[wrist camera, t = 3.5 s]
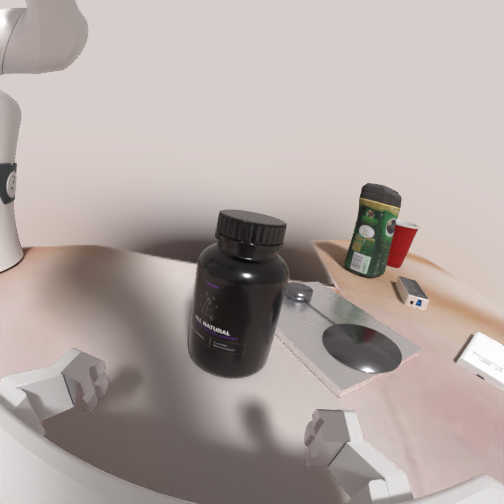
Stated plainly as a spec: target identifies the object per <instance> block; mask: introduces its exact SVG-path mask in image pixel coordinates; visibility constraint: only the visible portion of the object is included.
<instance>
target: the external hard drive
mask: <svg viewBox="0 0 504 504" xmlns="http://www.w3.org/2000/svg"><path fill="white" fill-rule="evenodd" d="M457 364H458V365H460V366H462V367H463V368H465V369H467V370H468V371H470V372H472V373H473V374H475V375H478V376H479V377H481V378H483V379H484V380H485V381H486V382H488V383H490V384H491V385H493V386H495V387H496V388H498V389H500V390H501V391H503V390H504V346H503V345H501V344H500V343H498V342H496V341H494V340H493V339H491V338H489V337H487V336H485V335H484V334H482V333H480V332H476V333H475V335H474V336H473V338H472V339H471V341H470V343H469V344H468V346H467V347H466V349H465V350H464V352H463V353H462V355H461V356H460V357H459V359H458V361H457Z"/></svg>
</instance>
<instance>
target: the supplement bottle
mask: <svg viewBox="0 0 504 504" xmlns="http://www.w3.org/2000/svg"><path fill="white" fill-rule="evenodd" d="M285 230H286V223H285V222H283V221H282V220H280V219H277V218H274V217H271V216H267V215H263V214H259V213H254V212H248V211H241V210H222V211H220V213H219V217H218V223H217V228H216V230H215V238H216V239H217V243H215V244H213V245H211V246H209V247H207V248H206V249H205V250H204V251H203V252H202V253H201V255H200V257H199V259H198V263H197V269H196V278H195V286H194V295H193V304H192V314H191V324H190V335H189V351H190V354H191V357H192V358H193V360H194V361H195V362H196V363H197V364H198V365H199V366H200V367H201V368H202V369H204V370H205V371H207V372H209V373H211V374H214V375H216V376H220V377H225V378H243V377H247V376H250V375H253V374H255V373H256V372H258V371H259V370H261V369H262V368H263V366H264V365H265V363H266V361H267V358H268V355H269V352H270V348H271V345H272V341H273V338H274V334H275V330H276V327H277V323H278V319H279V316H280V312H281V308H282V304H283V300H284V297H285V293H286V289H287V285H288V280H289V270H288V267H287V265H286V263H285V261H284V260H283V259H282V258H281V257H280V256H279V255H278V251H280V250H282V248H283V244H284V241H283V239H284V235H285Z"/></svg>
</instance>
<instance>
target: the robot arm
mask: <svg viewBox="0 0 504 504" xmlns="http://www.w3.org/2000/svg"><path fill="white" fill-rule="evenodd" d="M26 3H27V8H11V9H0V75H2V74H10V73H31V74H39V73H46V72H53V71H59V70H64V69H65V68H67V67H68V66H69V65H71V64H72V63H73V62H74V61H75V60H76V59H77V57H78V56H79V55H80V53H81V52H82V50H83V48H84V46H85V44H86V41H87V36H88V25H87V21H86V19H85V17H84V16H83V15H82V14H81V12H80V11H79V9H78V7H77V5H76V1H75V0H26ZM20 121H21V111H20V107H19V105H18V103H17V102H16V101H15V100H14V99H13V98H12V97H10V96H9V95H7V94H6V93H4V92H2V91H1V90H0V272H1V271H3V270H6V269H8V268H10V267H12V266H13V265H15V264H16V263H18V262H19V261H20V260H21V258H22V257H23V251H22V248H21V245H20V241H19V238H18V234H17V228H16V223H15V215H14V202H13V201H14V199H15V190H16V167H17V164H16V163H10V162H15V154H16V146H17V139H18V133H19V127H20ZM105 369H106V365H105V362H104V361H102V360H100V359H98V358H96V357H93V356H91V355H89V354H87V353H85V352H82V351H80V350H78V349H76V348H72V349H70V350H69V351H68V352H67V353H66V354H65V355H64V356H63V357H62V358H60V359H59V360H58V361H57V362H56V363H55V364H54V365H53V366H52V367H51V368H50V367H44V368H40V369H35V370H31V371H27V372H22V373H18V374H13V375H9V376H5V377H4V378H3V379H1V380H0V504H199V503H194V502H190V501H186V500H182V499H179V498H175V497H171V496H168V495H165V494H161V493H158V492H155V491H152V490H149V489H146V488H144V487H141V486H138V485H136V484H133V483H130V482H128V481H125V480H123V479H121V478H118V477H116V476H114V475H111V474H109V473H107V472H105V471H103V470H101V469H99V468H97V467H95V466H93V465H91V464H89V463H87V462H85V461H83V460H81V459H79V458H77V457H76V456H74V455H72V454H70V453H69V452H67V451H65V450H64V449H62V448H60V447H59V446H57V445H55V444H54V443H52V442H51V441H49V440H48V439H46V438H45V437H44V435H45V434H46V431H45V429H44V427H43V425H42V424H41V421H44V420H46V419H48V418H51V417H53V416H55V415H57V414H60V413H62V412H64V411H66V410H68V409H71V408H73V407H74V406H75V407H77V408H79V409H81V410H83V411H86V412H88V413H90V414H91V413H92V411H93V410H94V409H95V407H96V406H97V404H98V398H101V397H103V396H104V395H105V393H106V391H107V388H108V383H109V380H108V376H107V375H106V373H105V372H104V370H105ZM312 418H313V420H312V421H311V422H309V423H308V425H307V427H306V431H305V437H304V442H305V445H306V446H307V447H308V449H307V451H306V453H305V458H306V467H328V470H329V471H330V472H331V474H332V475H333V476H334V478H335V479H336V480H337V481H338V483H339V484H340V485H341V486H342V488H343V489H344V490H345V491H346V493H347V494H348V495H349V496H350V498H351V499H350V500H348V501H347V502H346V503H345V504H504V485H503V484H501V483H500V482H498V481H496V480H495V479H493V478H491V477H489V476H487V475H484V474H483V475H479V476H476V477H474V478H471V479H469V480H467V481H465V482H462V483H460V484H457V485H455V486H452V487H450V488H447V489H444V490H441V491H439V492H436V493H433V494H429V495H426V496H423V497H420V498H416V499H413V495H412V492H411V488H410V485H409V482H408V479H407V475H406V474H405V473H404V472H403V471H402V470H400V469H399V468H398V467H397V466H396V465H394V464H393V463H392V462H391V461H390V460H388V459H387V458H386V457H385V456H384V455H382V454H381V453H380V452H379V451H378V450H377V449H375V448H374V447H373V446H372V445H371V444H370V443H369V442H364V440H363V436H362V432H361V429H360V425H359V422H358V418H357V415H356V412H355V411H354V410H323V409H316V410H315V411H314V413H313V415H312Z"/></svg>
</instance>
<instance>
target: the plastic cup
mask: <svg viewBox="0 0 504 504" xmlns="http://www.w3.org/2000/svg"><path fill="white" fill-rule="evenodd" d="M418 229H419V226H418V225H416V224H413V223H410V222H406V221H402V220H397V221H396V225H395V229H394V234H393V239H392V243H391V247H390V252H389V256H388V260H387V264H386V265H389V266H392V267H397V268H399V267H400V266H401V265H402V263H403V260H404V258H405V256H406V255H407V252H408V250H409V248H410V245H411V243H412V241H413V238H414V236H415V234H416V232H417V230H418Z"/></svg>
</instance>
